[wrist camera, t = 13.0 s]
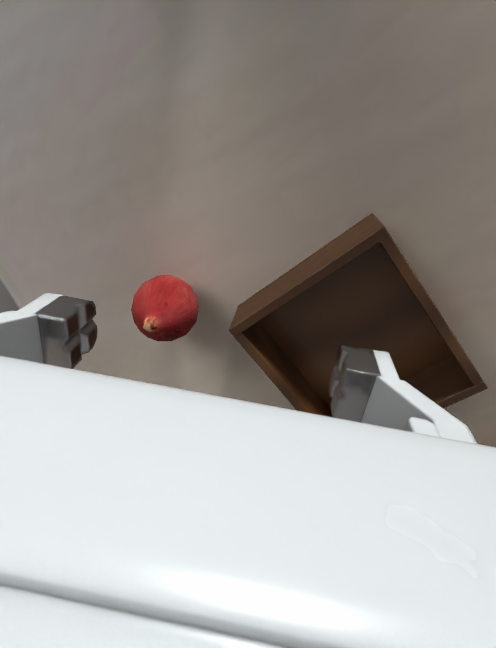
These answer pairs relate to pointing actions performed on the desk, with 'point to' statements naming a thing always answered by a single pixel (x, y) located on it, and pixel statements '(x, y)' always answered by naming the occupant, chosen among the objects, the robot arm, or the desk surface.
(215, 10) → the desk surface
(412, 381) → the wooden box
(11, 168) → the desk surface
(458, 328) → the desk surface
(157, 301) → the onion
